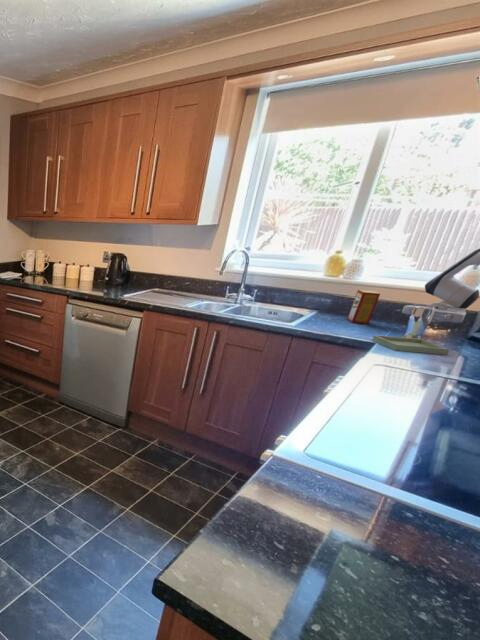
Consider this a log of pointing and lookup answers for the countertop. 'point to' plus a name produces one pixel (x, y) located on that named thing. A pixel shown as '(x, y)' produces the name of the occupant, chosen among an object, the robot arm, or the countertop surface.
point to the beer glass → (419, 321)
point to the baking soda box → (363, 306)
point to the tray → (410, 344)
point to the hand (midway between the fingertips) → (428, 314)
